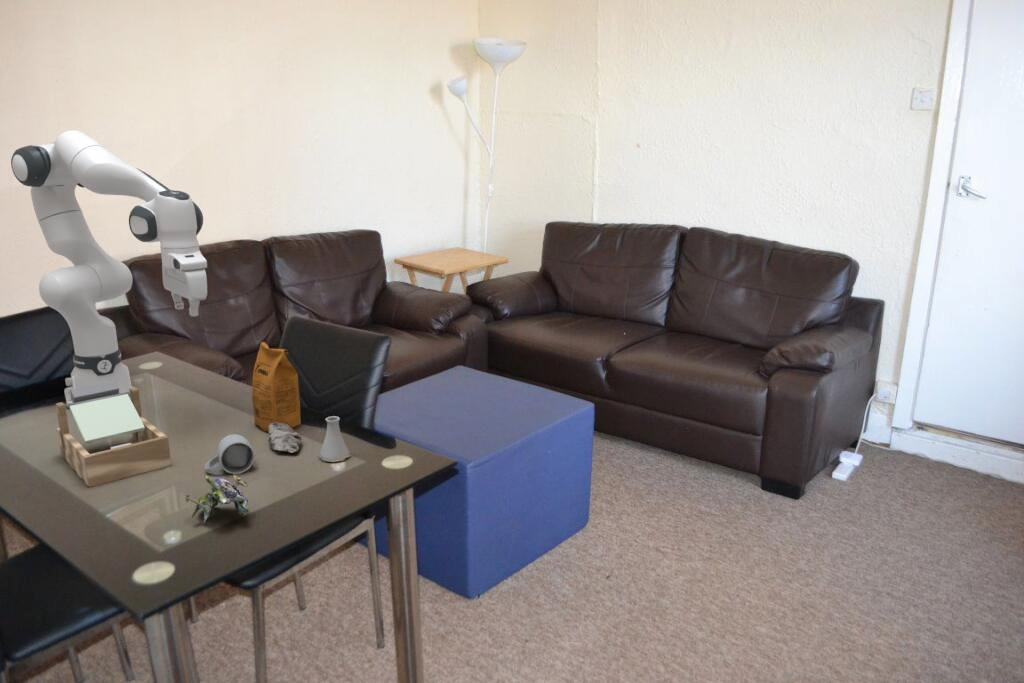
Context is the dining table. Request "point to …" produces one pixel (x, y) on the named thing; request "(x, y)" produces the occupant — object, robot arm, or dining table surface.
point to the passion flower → (222, 496)
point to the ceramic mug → (232, 455)
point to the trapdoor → (103, 412)
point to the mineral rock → (283, 437)
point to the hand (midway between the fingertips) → (186, 312)
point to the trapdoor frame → (115, 451)
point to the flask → (333, 441)
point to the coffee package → (275, 389)
